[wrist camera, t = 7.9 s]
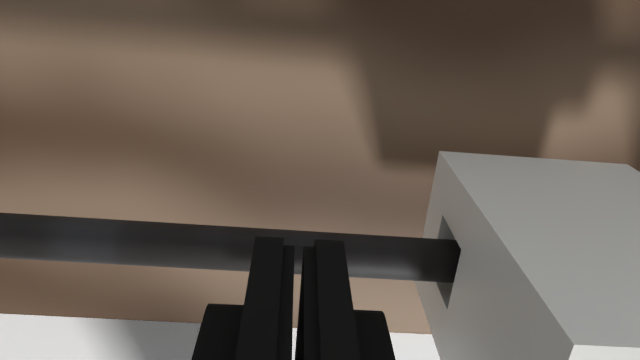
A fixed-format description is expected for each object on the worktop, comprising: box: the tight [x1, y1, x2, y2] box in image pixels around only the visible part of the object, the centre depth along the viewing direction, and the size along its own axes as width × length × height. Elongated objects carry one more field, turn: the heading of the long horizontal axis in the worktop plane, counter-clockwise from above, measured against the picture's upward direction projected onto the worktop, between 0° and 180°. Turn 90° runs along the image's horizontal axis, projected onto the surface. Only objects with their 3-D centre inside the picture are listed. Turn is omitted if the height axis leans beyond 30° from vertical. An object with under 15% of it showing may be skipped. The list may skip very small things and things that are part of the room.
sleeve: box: [414, 151, 640, 360], centre depth 11 cm, size 4×5×7 cm
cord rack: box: [0, 0, 640, 334], centre depth 14 cm, size 12×30×8 cm, turn 85°
